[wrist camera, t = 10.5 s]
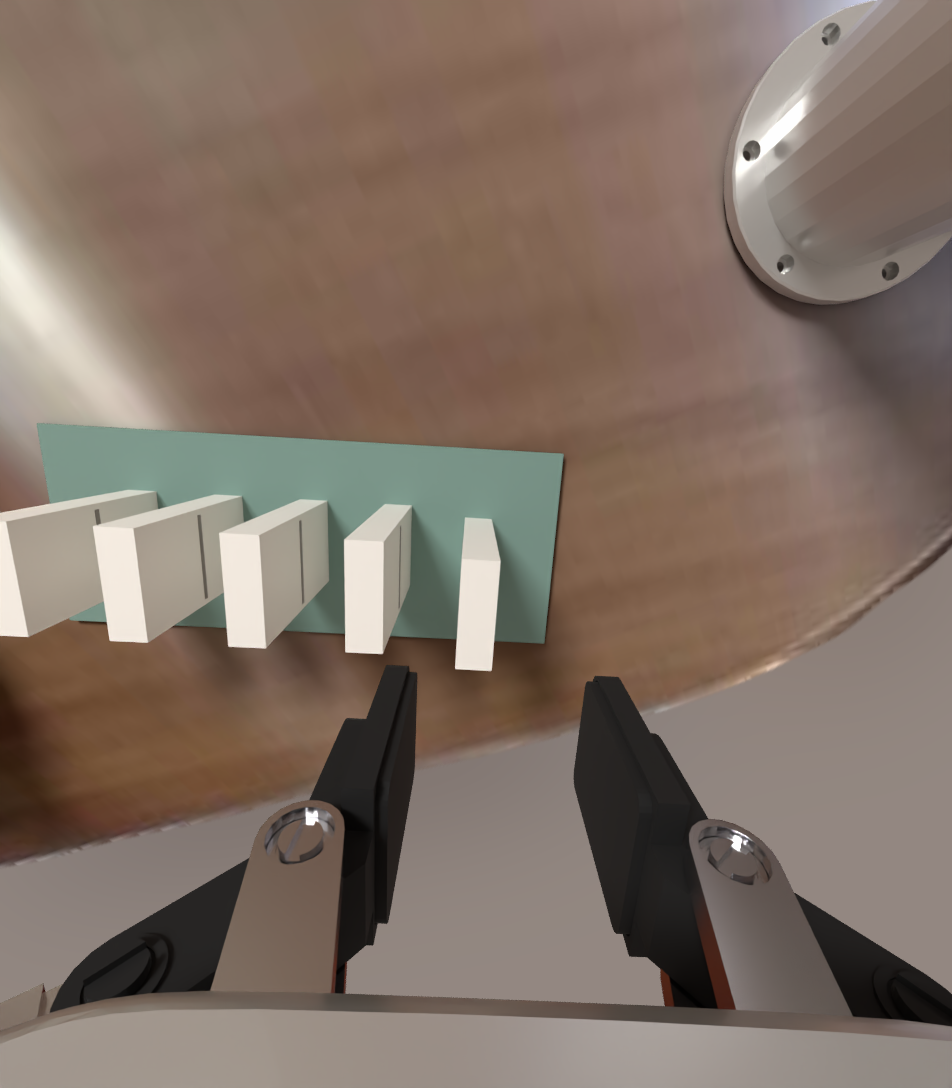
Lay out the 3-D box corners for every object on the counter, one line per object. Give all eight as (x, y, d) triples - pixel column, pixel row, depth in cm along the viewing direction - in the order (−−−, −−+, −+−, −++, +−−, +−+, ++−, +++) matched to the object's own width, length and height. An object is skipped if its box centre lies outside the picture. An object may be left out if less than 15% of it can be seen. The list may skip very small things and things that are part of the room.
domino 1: (156, 491, 27) (6, 521, 18) (165, 572, 28) (29, 637, 20) (128, 489, 27) (-37, 519, 18) (138, 570, 28) (-11, 635, 20)
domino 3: (327, 500, 27) (260, 535, 19) (329, 580, 29) (266, 648, 20) (299, 499, 27) (218, 532, 19) (302, 579, 28) (227, 646, 20)
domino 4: (412, 505, 27) (384, 541, 19) (410, 585, 29) (383, 654, 20) (384, 503, 27) (343, 539, 19) (383, 583, 29) (344, 652, 20)
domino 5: (492, 519, 28) (501, 561, 19) (486, 597, 29) (492, 671, 20) (464, 517, 28) (461, 558, 19) (459, 595, 29) (454, 669, 20)
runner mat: (562, 453, 27) (563, 453, 27) (543, 640, 30) (544, 643, 30) (42, 423, 26) (36, 423, 26) (75, 617, 29) (69, 620, 29)
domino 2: (242, 496, 27) (133, 528, 18) (247, 576, 28) (148, 642, 20) (214, 494, 27) (92, 526, 18) (220, 575, 28) (109, 640, 20)
